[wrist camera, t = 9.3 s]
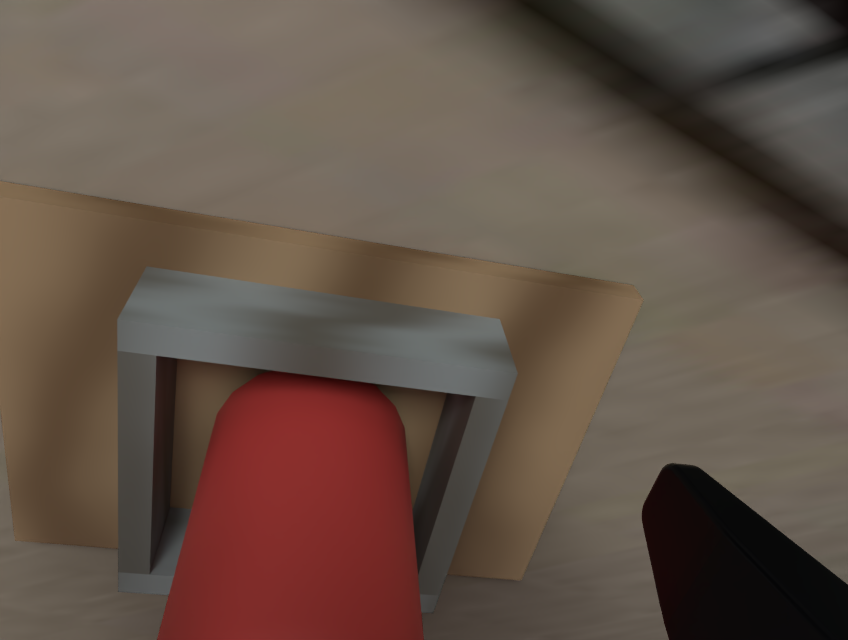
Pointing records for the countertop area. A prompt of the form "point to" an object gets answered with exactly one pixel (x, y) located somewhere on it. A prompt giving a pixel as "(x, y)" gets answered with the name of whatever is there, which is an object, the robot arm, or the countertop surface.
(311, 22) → the countertop surface
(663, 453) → the countertop surface
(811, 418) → the countertop surface
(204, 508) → the beer can
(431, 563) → the can holder
